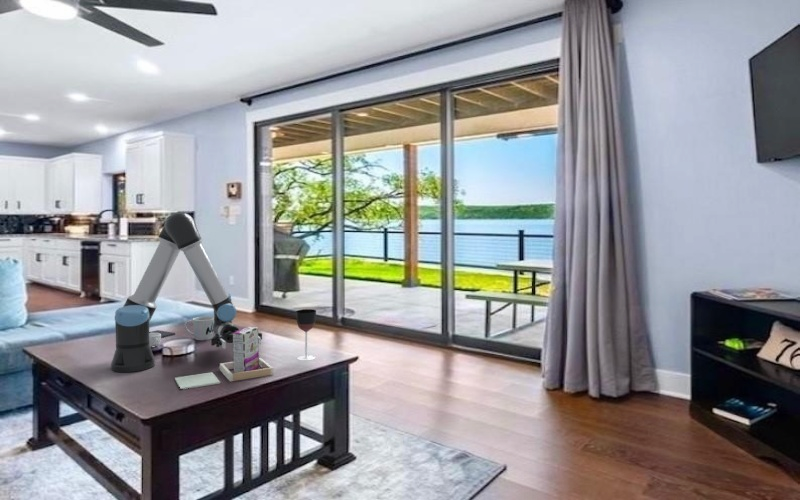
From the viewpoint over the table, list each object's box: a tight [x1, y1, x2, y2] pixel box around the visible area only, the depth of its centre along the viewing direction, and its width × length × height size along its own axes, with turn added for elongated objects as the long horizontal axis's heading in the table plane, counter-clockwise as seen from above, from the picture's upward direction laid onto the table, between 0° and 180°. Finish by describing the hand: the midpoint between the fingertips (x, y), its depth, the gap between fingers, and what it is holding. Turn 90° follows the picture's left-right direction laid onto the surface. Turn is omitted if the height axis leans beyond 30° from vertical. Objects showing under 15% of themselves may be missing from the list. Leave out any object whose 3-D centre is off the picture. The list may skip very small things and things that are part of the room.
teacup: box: [149, 333, 162, 348], centre depth 227 cm, size 10×8×5 cm
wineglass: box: [295, 308, 317, 361], centre depth 210 cm, size 8×9×20 cm
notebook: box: [149, 329, 176, 339], centre depth 244 cm, size 13×2×21 cm
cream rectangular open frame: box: [219, 357, 275, 382], centre depth 191 cm, size 16×16×2 cm
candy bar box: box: [232, 326, 260, 373], centre depth 190 cm, size 11×5×16 cm, turn 168°
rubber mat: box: [174, 371, 221, 390], centre depth 179 cm, size 13×13×1 cm
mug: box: [183, 315, 214, 341], centre depth 243 cm, size 10×15×10 cm
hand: (242, 343), depth 197 cm, fingers open, 13 cm apart
